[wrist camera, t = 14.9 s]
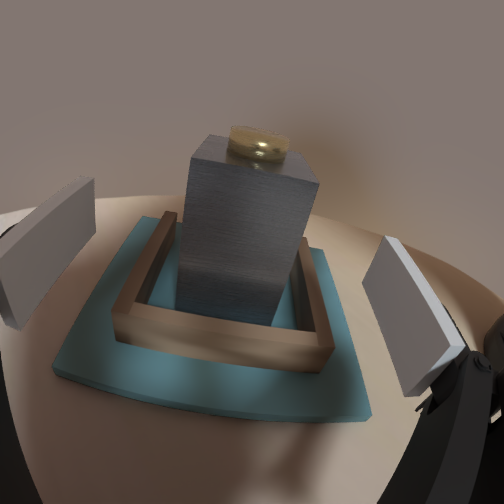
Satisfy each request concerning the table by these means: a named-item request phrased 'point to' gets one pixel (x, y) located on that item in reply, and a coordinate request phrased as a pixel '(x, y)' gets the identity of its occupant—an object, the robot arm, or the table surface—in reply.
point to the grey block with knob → (242, 225)
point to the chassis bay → (215, 341)
